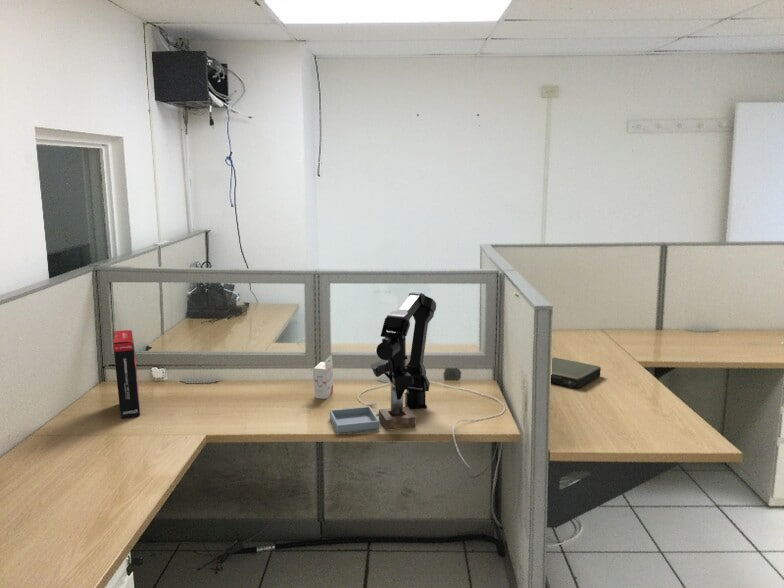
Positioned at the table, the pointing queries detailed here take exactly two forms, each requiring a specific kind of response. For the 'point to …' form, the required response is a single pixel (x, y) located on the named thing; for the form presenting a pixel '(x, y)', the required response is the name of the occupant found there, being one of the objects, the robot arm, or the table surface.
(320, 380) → the ink cartridge box
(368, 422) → the tray
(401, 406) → the steel pin
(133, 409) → the graphics card box
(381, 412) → the hitch block
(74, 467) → the table surface
